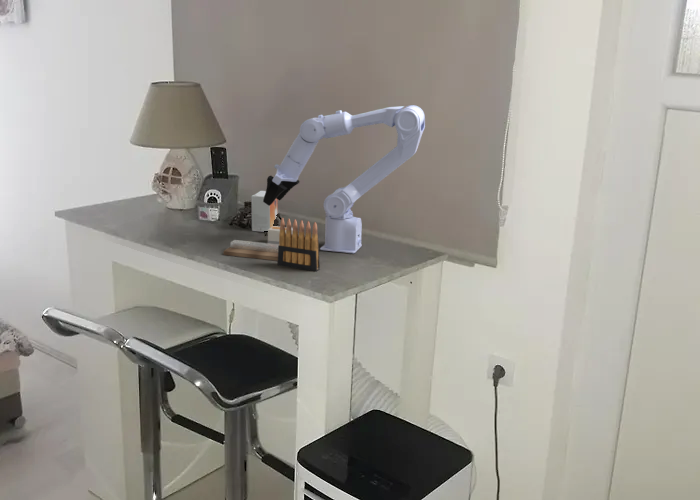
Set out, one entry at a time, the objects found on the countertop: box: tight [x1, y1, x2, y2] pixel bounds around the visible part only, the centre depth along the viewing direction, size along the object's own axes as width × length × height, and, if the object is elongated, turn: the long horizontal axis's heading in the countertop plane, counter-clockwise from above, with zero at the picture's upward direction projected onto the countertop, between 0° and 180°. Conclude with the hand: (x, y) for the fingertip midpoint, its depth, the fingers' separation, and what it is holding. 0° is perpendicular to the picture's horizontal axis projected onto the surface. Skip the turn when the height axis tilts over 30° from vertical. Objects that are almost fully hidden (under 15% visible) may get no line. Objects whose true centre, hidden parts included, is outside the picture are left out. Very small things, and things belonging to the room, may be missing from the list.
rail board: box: [222, 246, 278, 262], centre depth 179 cm, size 19×9×1 cm, turn 75°
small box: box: [250, 190, 279, 233], centre depth 202 cm, size 8×6×10 cm
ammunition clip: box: [277, 217, 321, 272], centre depth 168 cm, size 11×2×12 cm, turn 66°
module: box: [267, 225, 293, 244], centre depth 189 cm, size 6×4×4 cm
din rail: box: [230, 239, 279, 253], centre depth 179 cm, size 18×2×2 cm, turn 75°
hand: (271, 200), depth 187 cm, fingers open, 7 cm apart
